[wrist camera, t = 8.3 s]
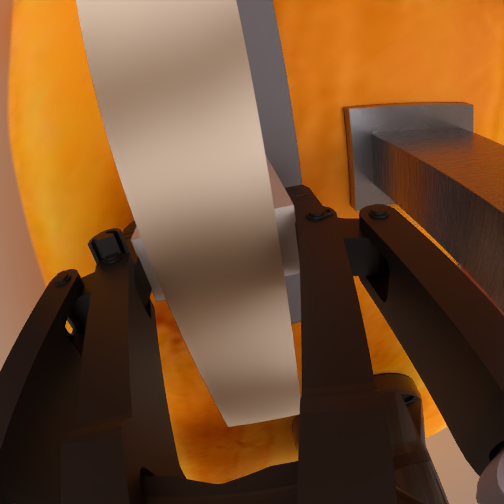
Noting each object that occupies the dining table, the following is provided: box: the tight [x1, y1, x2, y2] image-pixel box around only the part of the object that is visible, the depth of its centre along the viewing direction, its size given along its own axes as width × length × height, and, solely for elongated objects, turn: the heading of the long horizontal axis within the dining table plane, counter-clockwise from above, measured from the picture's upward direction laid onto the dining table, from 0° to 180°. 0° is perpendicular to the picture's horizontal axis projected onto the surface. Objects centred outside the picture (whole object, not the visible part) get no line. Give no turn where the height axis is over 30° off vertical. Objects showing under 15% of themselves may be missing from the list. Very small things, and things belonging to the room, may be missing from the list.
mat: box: [236, 0, 302, 324], centre depth 17 cm, size 22×9×1 cm, turn 10°
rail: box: [76, 0, 301, 427], centre depth 12 cm, size 20×4×5 cm, turn 10°
